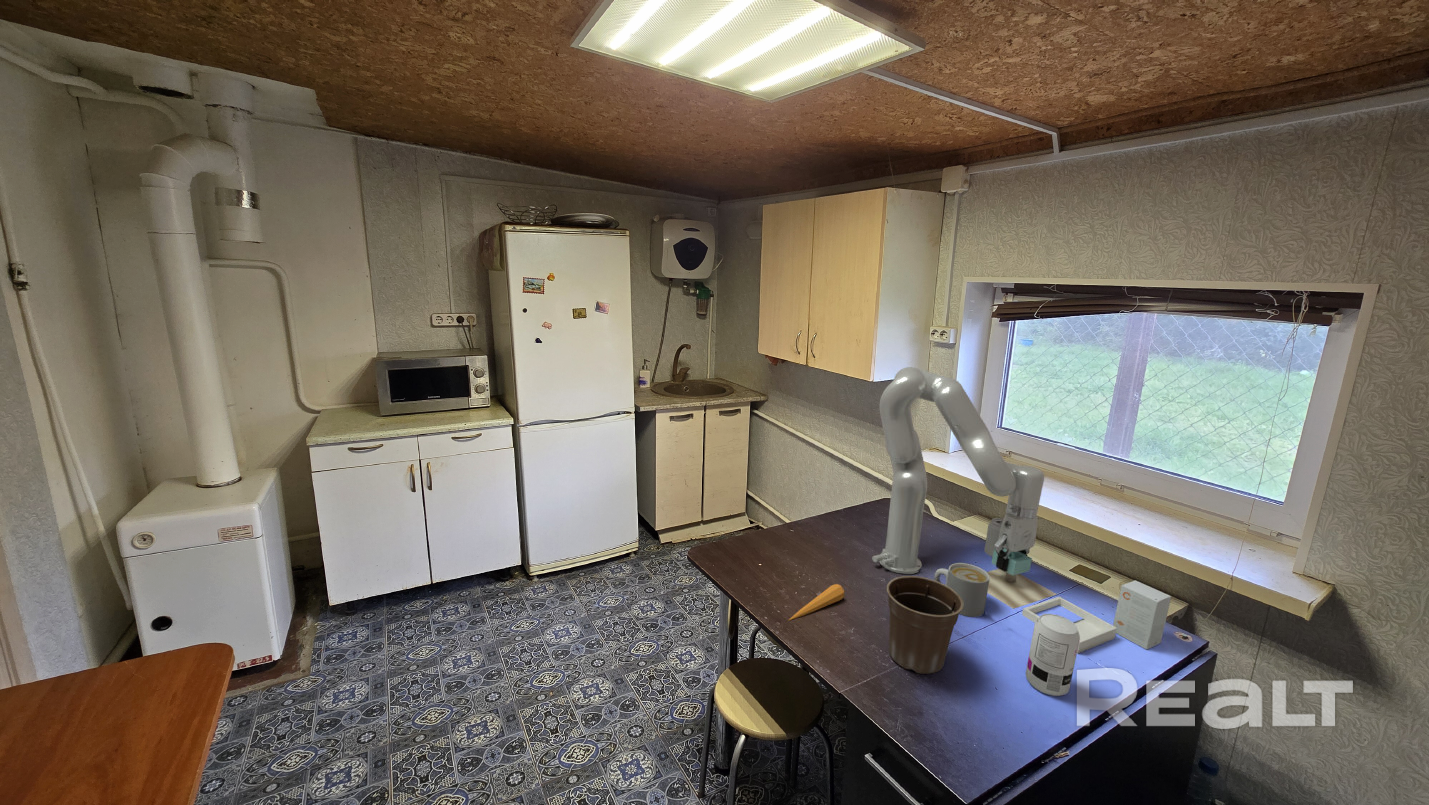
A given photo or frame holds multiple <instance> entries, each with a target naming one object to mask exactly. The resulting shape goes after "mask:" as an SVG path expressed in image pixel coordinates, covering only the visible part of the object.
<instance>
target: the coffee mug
mask: <svg viewBox="0 0 1429 805" xmlns="http://www.w3.org/2000/svg"><path fill="white" fill-rule="evenodd" d="M987 572H988V571H986V570H985V569H982V568H981V567H979V566H977V565H974V564H971V563H966V562H955V563H953V564H951V565H949V566H948V569H947V568H939V569H938V568H937V570H936V571H935V572H934V576H933V577H934V578H933V580H935V581H937V582H940V583H942V582H941V579H940V577H941V576H942V575H943V576H944V577H945V583H943V584H944V585H946V586H948V587H950V588H951V589H953V590H954V591H955V592H957V593H958V594H959V596H960V597H961V598H962V600H963V609H962V611H961V612H960V613H959V615H960V616H963V617H968V618H978V617H980V616H982V615H984V614H985V610H986V603H987V596H988V593H987V592H988V586H989V579H990V577H989V574H988V573H987Z"/></svg>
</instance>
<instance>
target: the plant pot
mask: <svg viewBox="0 0 1429 805" xmlns="http://www.w3.org/2000/svg"><path fill="white" fill-rule="evenodd" d="M940 582H941V581H940ZM940 582H937V581H935V580H934V579H931V578H927V577H923V576H915V575H903V576H897V577H895V578H892V579H891V580H889V582H888V583H887V585H886V593H887V595H888V599H887V602H888V608H889V620H888V621H889V623H888V624H889V626H888V627H889V628H888V630H889V631H888V654H889V655H890V657H891V659H893V661H894V662H895V663H897V665H898V666H901V667H902V668H903V669H906V670H912V671H915V673H917V674H924V675H928V674H936V673H937V672H939V671H941V670H942V668H944V665H945V661H946V657H947V653H948V650H949V646H950V642H951V638H952V635H953V631H954V628H955V625H956V624H957V622H958V618H959V615H960V614H959V613H960V612H961V611H962V609H963V600H962V598H961V597H960V596H959V594H958V593H957V592H955V591H954V590H953V589H951V588H950V587H948V586H946V585H944V584H945V583H942V582H941V583H940Z"/></svg>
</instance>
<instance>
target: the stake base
mask: <svg viewBox="0 0 1429 805" xmlns="http://www.w3.org/2000/svg"><path fill="white" fill-rule="evenodd" d="M986 572H987V573H988V574H989V577H990V579H989V586H988V592H987V595H990V596H991V597H993V598H994V599H996V600H999V601H1000V602H1001V603H1003V604H1004V605H1007V606H1008V607H1009V608H1011V609H1013V610H1016V609H1017V608H1020V607H1024V606H1027V605H1030V604H1033V603H1036V602H1038V601H1042V600H1044V599H1048V598H1051V597H1053V596H1056V595H1058V594H1057V593H1056V592H1053V590H1050V589H1049V588H1046V587H1045V586H1043V585H1042V584H1039V583H1037V582H1036V581H1034V580H1032V579H1029V577H1026V576H1024V575H1022V573H1020V574H1017V575H1011V574H1009V573H1008V572H1004V571H1002V570H1001V569H999V568H996V569H992V570H989V571H986Z"/></svg>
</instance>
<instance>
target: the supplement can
mask: <svg viewBox="0 0 1429 805" xmlns="http://www.w3.org/2000/svg"><path fill="white" fill-rule="evenodd" d="M1073 622H1074V621H1072V620H1070V619H1068V618H1066V617H1065V616H1061V615H1058V614H1054V613H1043V614H1041V615H1040V617H1039V619H1037V621H1036V622H1035V623H1034V627H1033V631H1032V636H1031V642H1030V649H1029V653H1028V658H1027V664H1026V669H1025V677H1026V679H1027V681H1028V682H1029V683H1030V684H1031V686H1032V687H1033V688H1034V689H1036V690H1037V691H1039V692H1041V693H1043V694H1045V695H1049V696H1053V697H1061V696H1064V695H1066V694H1068V693H1069V691H1070V687H1071V684H1072V683H1071V682H1072V678H1073V675H1074V674H1073V673H1074V671H1075V670H1074V669H1075V664H1076V659H1077V655H1078V654H1077V651H1078V646H1079V641H1080V635H1079V632H1078V628H1077V626H1076V625H1075V624H1074V623H1073Z"/></svg>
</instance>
